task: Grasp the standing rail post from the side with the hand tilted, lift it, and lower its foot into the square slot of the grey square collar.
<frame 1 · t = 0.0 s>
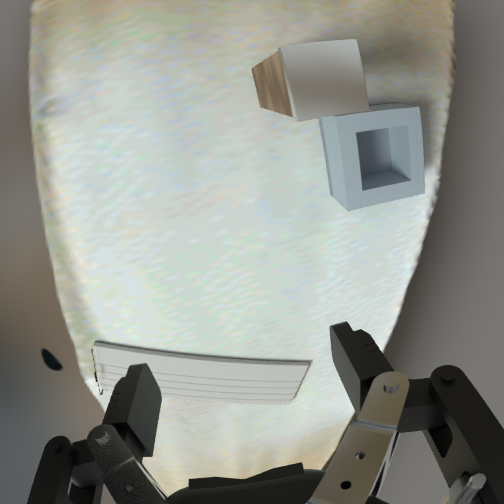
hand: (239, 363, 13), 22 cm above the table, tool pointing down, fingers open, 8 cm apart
baseboard: (198, 378, 46), on the table
grey square collar: (363, 147, 32), on the table
rail post: (276, 83, 28), on the table
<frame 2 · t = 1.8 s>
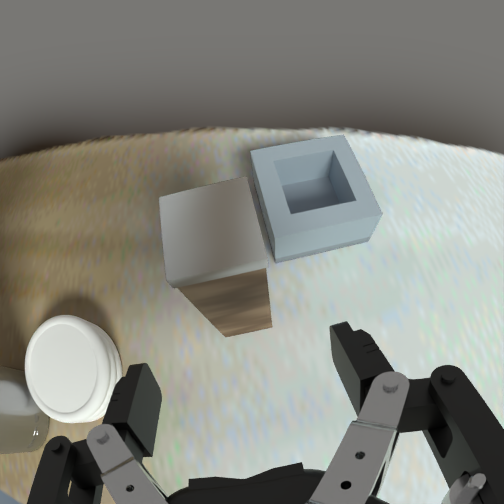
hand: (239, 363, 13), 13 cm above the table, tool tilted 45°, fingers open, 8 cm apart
white round disc: (81, 371, 26), on the table
grey square collar: (309, 210, 31), on the table
rail post: (244, 309, 27), on the table
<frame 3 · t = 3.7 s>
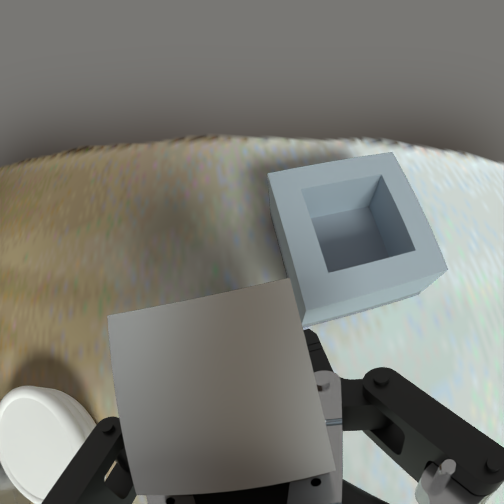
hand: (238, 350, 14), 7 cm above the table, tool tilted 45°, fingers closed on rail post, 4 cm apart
white round disc: (59, 446, 19), on the table
grey square collar: (344, 252, 23), on the table
rail post: (258, 391, 20), on the table, touching gripper
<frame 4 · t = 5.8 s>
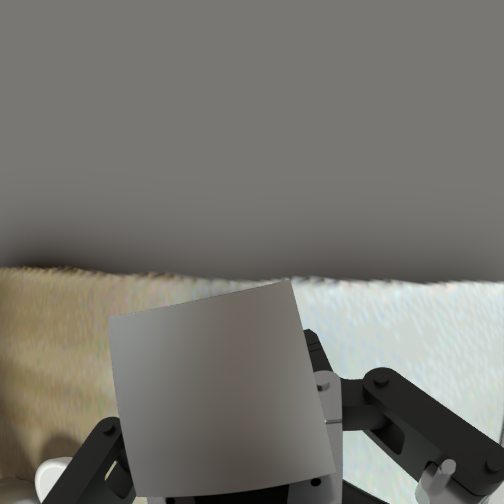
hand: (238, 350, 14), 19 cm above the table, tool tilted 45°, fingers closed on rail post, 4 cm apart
white round disc: (80, 492, 26), on the table
rail post: (258, 392, 20), point 12 cm above the table, touching gripper
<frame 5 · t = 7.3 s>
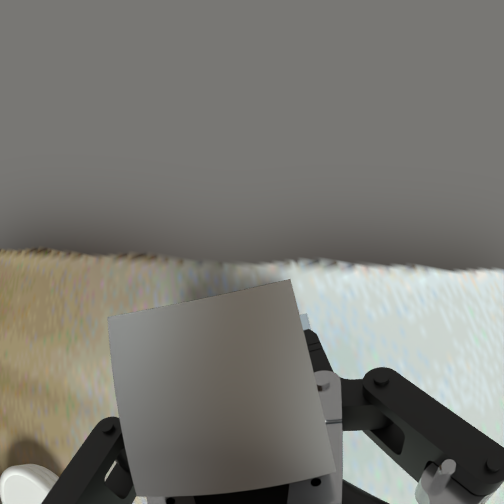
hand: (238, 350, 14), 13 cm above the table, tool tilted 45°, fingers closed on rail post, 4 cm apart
rail post: (258, 391, 20), point 6 cm above the table, touching gripper
when the fingers open (10 cm above the table, at t = 8.3 s): rail post drops 2 cm, resting on grey square collar.
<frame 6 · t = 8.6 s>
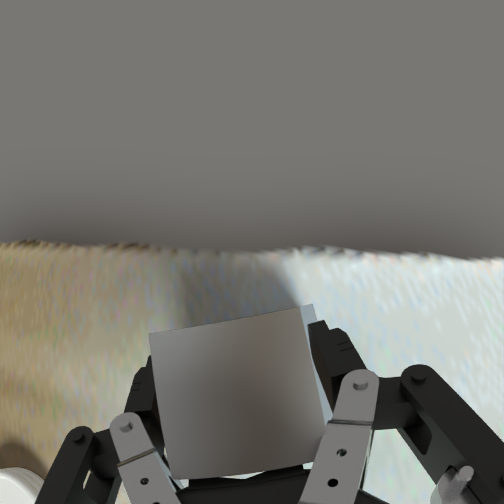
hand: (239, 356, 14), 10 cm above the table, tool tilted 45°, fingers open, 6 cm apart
grey square collar: (261, 391, 22), on the table
rail post: (259, 392, 21), point 1 cm above the table, touching grey square collar
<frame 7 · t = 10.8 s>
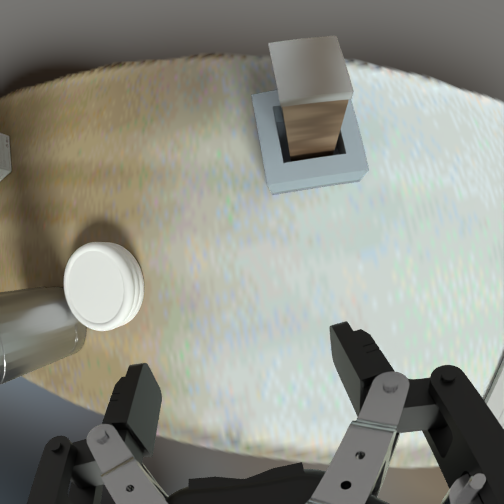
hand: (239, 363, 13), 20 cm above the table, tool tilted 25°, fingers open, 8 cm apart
white round disc: (110, 284, 36), on the table
grey square collar: (308, 146, 32), on the table
rail post: (308, 144, 31), point 1 cm above the table, touching grey square collar
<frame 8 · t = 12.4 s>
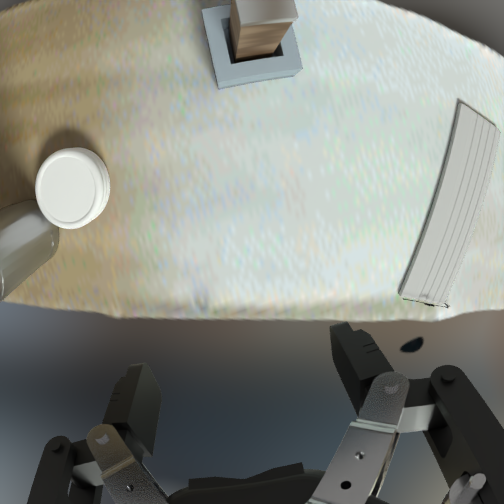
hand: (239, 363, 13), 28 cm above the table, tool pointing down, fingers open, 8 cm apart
baseboard: (457, 209, 43), on the table
white round disc: (77, 185, 37), on the table
grey square collar: (248, 48, 33), on the table
rail post: (248, 47, 32), point 1 cm above the table, touching grey square collar
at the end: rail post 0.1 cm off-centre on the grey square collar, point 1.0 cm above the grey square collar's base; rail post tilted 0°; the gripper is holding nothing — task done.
